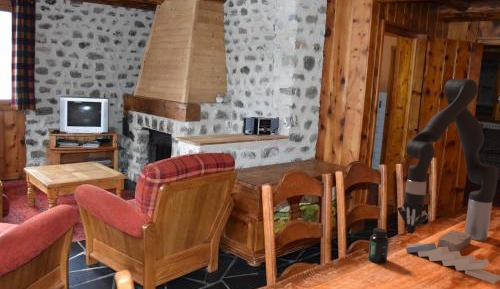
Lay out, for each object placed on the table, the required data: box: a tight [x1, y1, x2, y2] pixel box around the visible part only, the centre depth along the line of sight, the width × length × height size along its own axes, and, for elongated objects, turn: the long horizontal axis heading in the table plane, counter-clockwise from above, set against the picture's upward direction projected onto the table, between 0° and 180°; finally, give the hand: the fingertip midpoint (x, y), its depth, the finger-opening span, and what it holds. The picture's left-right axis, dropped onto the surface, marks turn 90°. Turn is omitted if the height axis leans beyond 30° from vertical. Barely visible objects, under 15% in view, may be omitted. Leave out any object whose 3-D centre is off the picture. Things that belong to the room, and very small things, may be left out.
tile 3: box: [428, 250, 462, 262], centre depth 170 cm, size 5×2×10 cm
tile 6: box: [464, 269, 500, 285], centre depth 161 cm, size 5×2×10 cm
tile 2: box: [417, 247, 449, 258], centre depth 174 cm, size 5×2×10 cm
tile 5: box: [454, 258, 490, 272], centre depth 163 cm, size 5×2×10 cm
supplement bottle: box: [368, 227, 390, 265], centre depth 170 cm, size 7×7×12 cm
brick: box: [436, 229, 472, 252], centre depth 190 cm, size 17×8×5 cm, turn 136°
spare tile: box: [405, 242, 437, 254], centre depth 178 cm, size 5×2×10 cm
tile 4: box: [441, 254, 476, 267], centre depth 166 cm, size 5×2×10 cm
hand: (410, 233), depth 180 cm, fingers closed
